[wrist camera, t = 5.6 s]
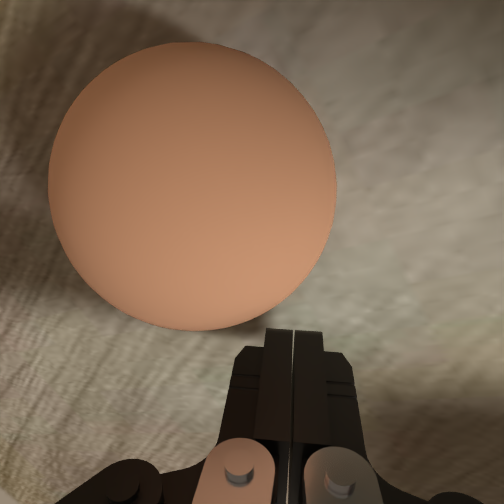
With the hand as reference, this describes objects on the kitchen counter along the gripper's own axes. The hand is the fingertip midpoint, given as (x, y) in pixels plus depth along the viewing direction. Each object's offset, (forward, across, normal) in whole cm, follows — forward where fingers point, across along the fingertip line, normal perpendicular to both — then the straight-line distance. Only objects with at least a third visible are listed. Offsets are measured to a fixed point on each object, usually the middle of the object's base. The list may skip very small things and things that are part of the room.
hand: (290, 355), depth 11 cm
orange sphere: (-1, +2, -5) cm, 5 cm away
